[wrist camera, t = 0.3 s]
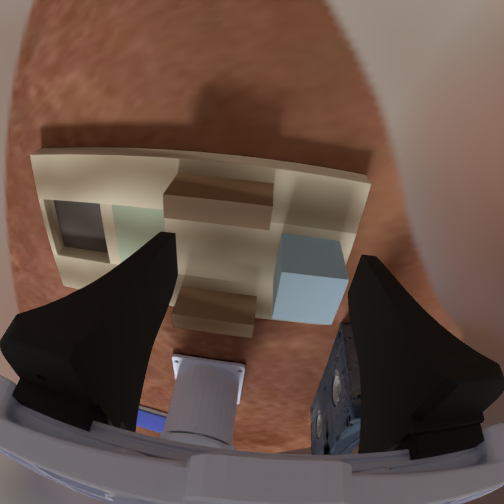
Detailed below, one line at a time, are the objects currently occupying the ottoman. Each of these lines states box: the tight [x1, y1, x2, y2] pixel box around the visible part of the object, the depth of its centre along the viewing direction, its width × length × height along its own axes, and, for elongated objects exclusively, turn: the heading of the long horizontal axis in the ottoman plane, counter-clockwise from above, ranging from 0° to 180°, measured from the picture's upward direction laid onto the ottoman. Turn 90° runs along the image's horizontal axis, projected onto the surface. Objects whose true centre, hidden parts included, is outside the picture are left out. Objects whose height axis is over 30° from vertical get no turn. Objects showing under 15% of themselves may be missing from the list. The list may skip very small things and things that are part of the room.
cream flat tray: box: [30, 147, 371, 338], centre depth 22 cm, size 13×24×4 cm, turn 84°
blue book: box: [136, 405, 167, 433], centre depth 46 cm, size 2×8×12 cm
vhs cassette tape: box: [310, 323, 361, 455], centre depth 30 cm, size 18×3×10 cm, turn 177°
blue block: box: [272, 233, 349, 325], centre depth 21 cm, size 4×4×4 cm
